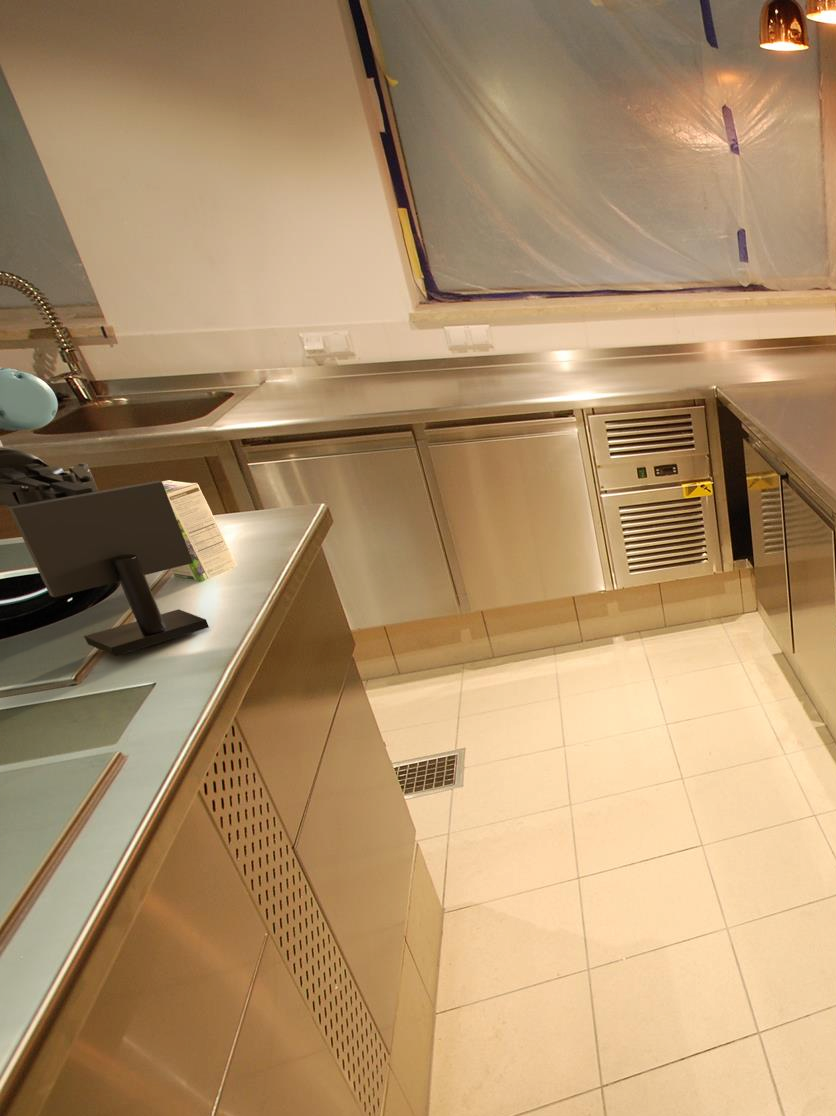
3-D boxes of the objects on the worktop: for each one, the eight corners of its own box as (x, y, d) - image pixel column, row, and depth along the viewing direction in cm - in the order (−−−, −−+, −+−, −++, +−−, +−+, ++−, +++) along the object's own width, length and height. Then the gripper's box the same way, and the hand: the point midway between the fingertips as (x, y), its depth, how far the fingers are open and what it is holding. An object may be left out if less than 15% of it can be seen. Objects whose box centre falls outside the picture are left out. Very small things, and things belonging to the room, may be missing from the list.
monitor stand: (114, 656, 104) (76, 571, 99) (87, 644, 107) (49, 561, 102) (209, 627, 112) (178, 548, 107) (182, 617, 115) (150, 539, 110)
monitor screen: (54, 597, 100) (12, 508, 95) (49, 595, 100) (7, 506, 96) (193, 563, 111) (162, 481, 107) (188, 561, 112) (157, 480, 107)
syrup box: (175, 583, 126) (125, 492, 118) (213, 566, 131) (168, 477, 123) (205, 587, 125) (156, 495, 117) (242, 570, 130) (198, 481, 122)
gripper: (78, 491, 119) (164, 516, 109) (-54, 514, 108) (30, 544, 99) (54, 438, 115) (142, 459, 106) (-83, 456, 105) (0, 481, 95)
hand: (88, 500), depth 102 cm, fingers closed
